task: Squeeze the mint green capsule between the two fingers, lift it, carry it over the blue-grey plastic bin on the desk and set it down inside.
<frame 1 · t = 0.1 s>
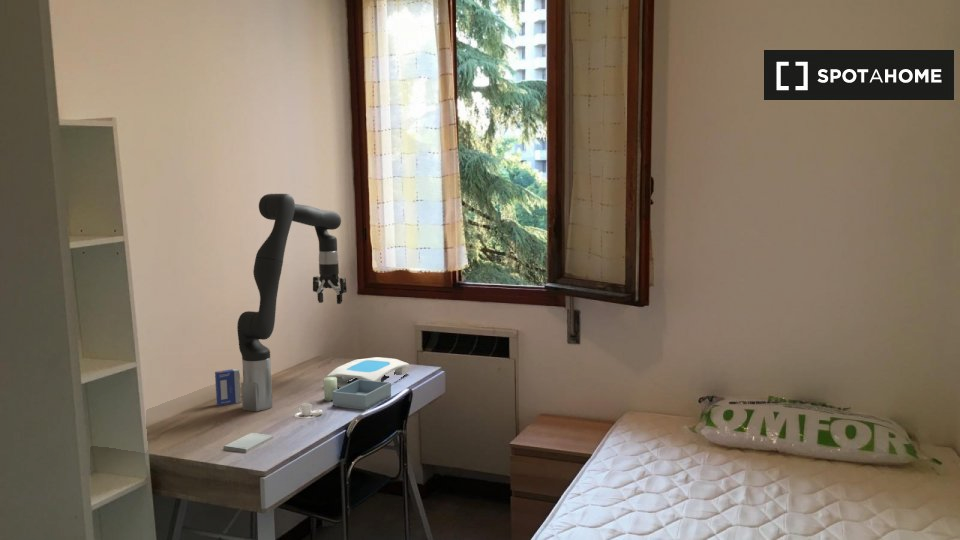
hand: (330, 303, 291), 29 cm above the table, fingers open, 8 cm apart
mint green capsule: (331, 399, 262), on the table
teacup and saucer: (309, 419, 242), on the table
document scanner: (369, 381, 286), on the table
hard drive: (248, 446, 218), on the table
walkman: (228, 403, 258), on the table
bin: (362, 400, 259), on the table
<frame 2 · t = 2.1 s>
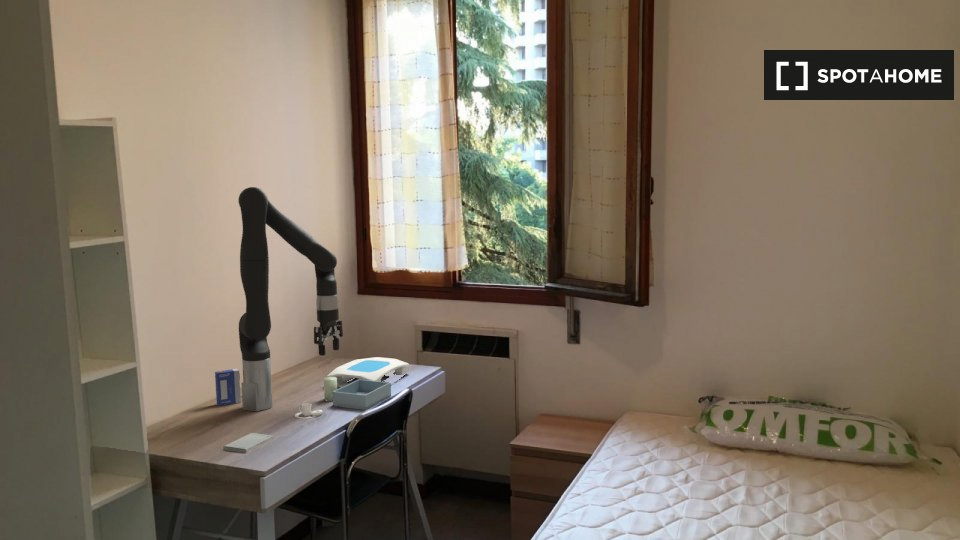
hand: (329, 352, 260), 17 cm above the table, fingers open, 8 cm apart
nothing on the table moved.
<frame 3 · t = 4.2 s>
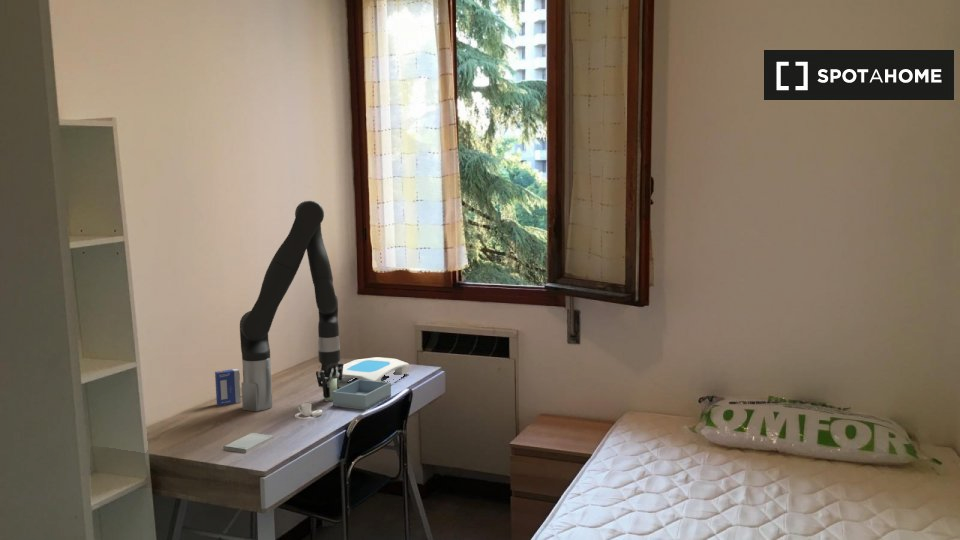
hand: (330, 395, 262), 1 cm above the table, fingers closed on mint green capsule, 4 cm apart
mint green capsule: (331, 399, 262), on the table, touching gripper
everything else where it was.
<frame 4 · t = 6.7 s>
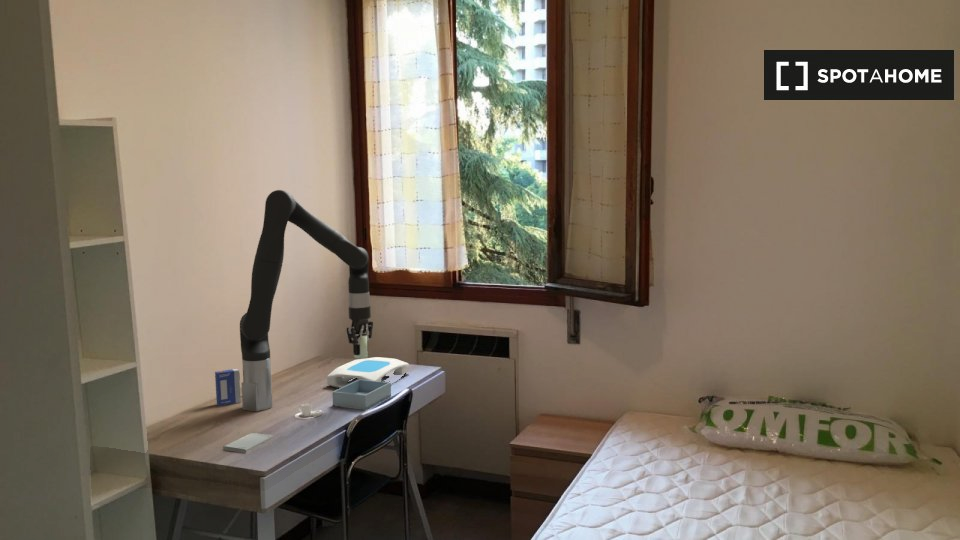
hand: (360, 353, 257), 17 cm above the table, fingers closed on mint green capsule, 4 cm apart
mint green capsule: (361, 356, 257), point 16 cm above the table, touching gripper
everything else where it was.
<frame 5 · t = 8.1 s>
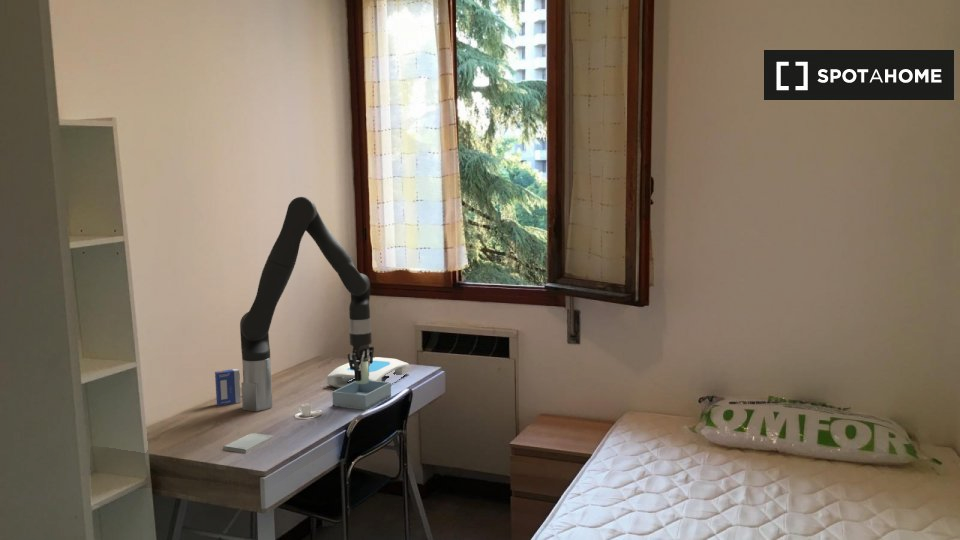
hand: (362, 378, 258), 8 cm above the table, fingers closed on mint green capsule, 4 cm apart
mint green capsule: (362, 382, 258), point 7 cm above the table, touching gripper
everything else where it was.
when the fingers open (5 cm above the table, at t = 9.2 s): mint green capsule drops 3 cm, resting on bin.
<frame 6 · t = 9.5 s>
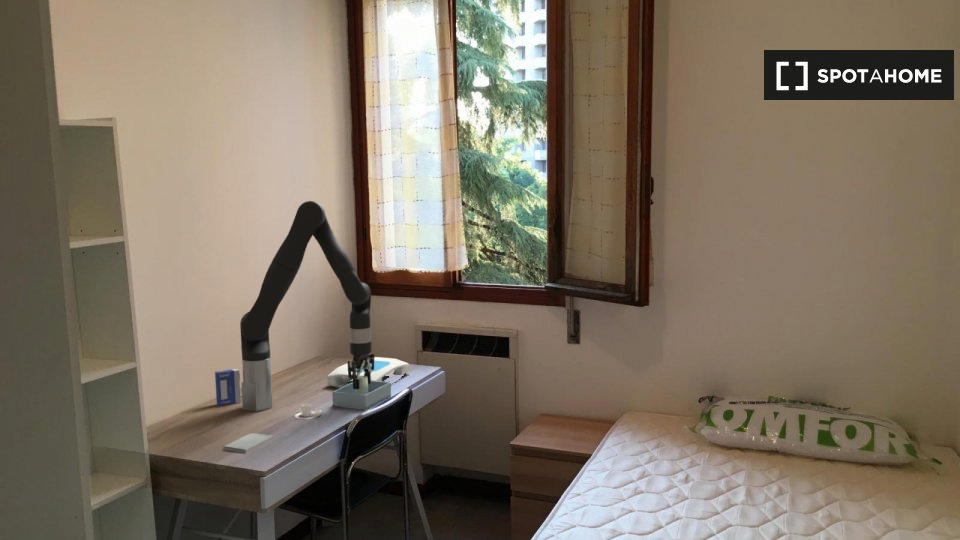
hand: (362, 386, 258), 5 cm above the table, fingers open, 7 cm apart
mint green capsule: (362, 398, 259), point 1 cm above the table, touching bin
everything else where it was.
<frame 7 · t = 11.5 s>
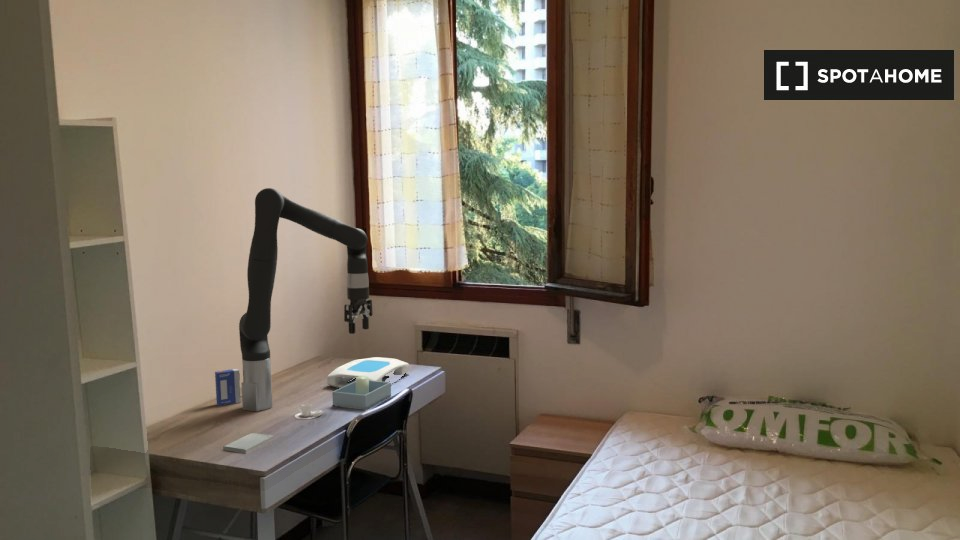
hand: (359, 331, 259), 24 cm above the table, fingers open, 8 cm apart
nothing on the table moved.
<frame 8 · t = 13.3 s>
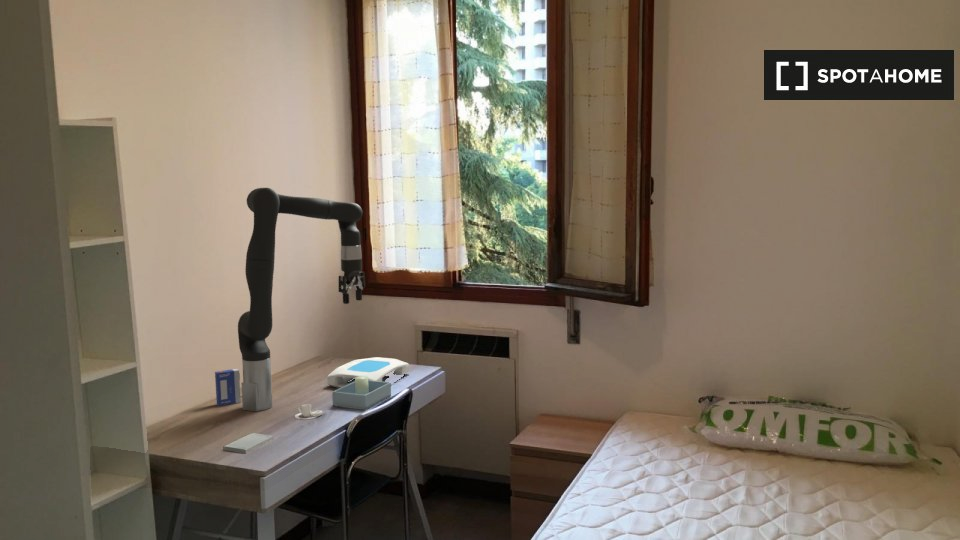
hand: (352, 301, 269), 33 cm above the table, fingers open, 8 cm apart
nothing on the table moved.
at the end: mint green capsule inside the target area on the bin (0.1 cm from its centre), point 0.8 cm above the bin's base; the gripper is holding nothing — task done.
